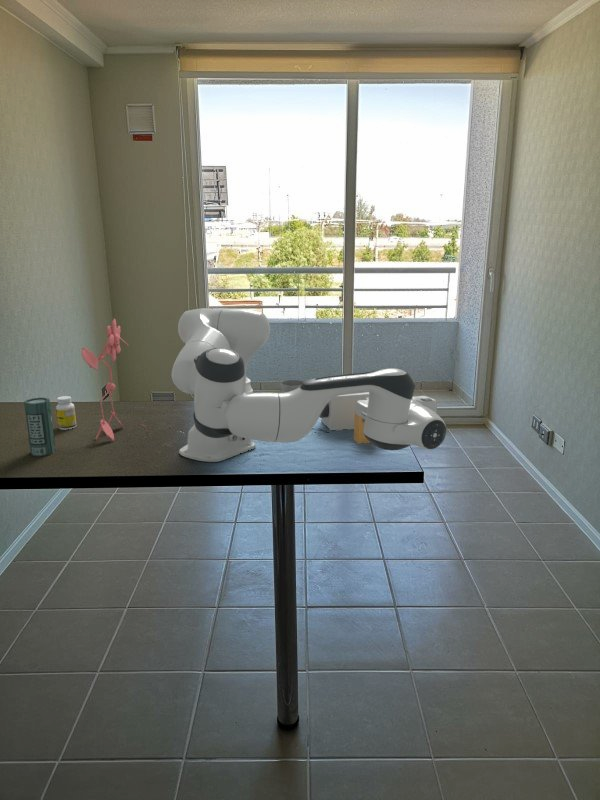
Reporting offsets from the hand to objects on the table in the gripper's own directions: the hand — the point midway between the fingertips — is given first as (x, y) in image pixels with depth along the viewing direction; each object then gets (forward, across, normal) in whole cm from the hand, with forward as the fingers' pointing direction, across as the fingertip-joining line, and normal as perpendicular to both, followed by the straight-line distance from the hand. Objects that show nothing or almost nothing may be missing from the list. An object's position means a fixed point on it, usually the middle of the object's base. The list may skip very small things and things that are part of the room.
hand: (383, 399), depth 161 cm
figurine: (+35, -70, -16) cm, 80 cm away
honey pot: (+46, -33, -16) cm, 59 cm away
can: (+25, -91, -16) cm, 96 cm away
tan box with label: (+11, 0, -16) cm, 19 cm away
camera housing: (+27, -1, -16) cm, 31 cm away
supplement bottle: (+46, -86, -17) cm, 99 cm away
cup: (+45, -14, -16) cm, 50 cm away
